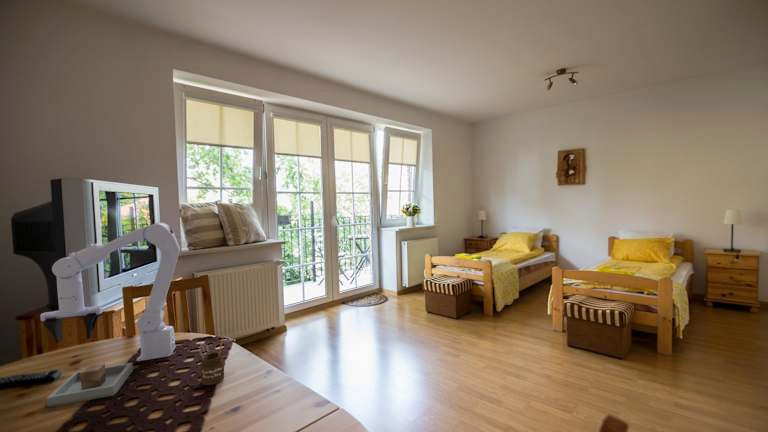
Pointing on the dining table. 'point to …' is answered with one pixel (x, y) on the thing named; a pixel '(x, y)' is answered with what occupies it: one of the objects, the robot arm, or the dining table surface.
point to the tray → (74, 392)
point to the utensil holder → (212, 367)
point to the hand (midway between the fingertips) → (74, 339)
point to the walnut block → (93, 376)
